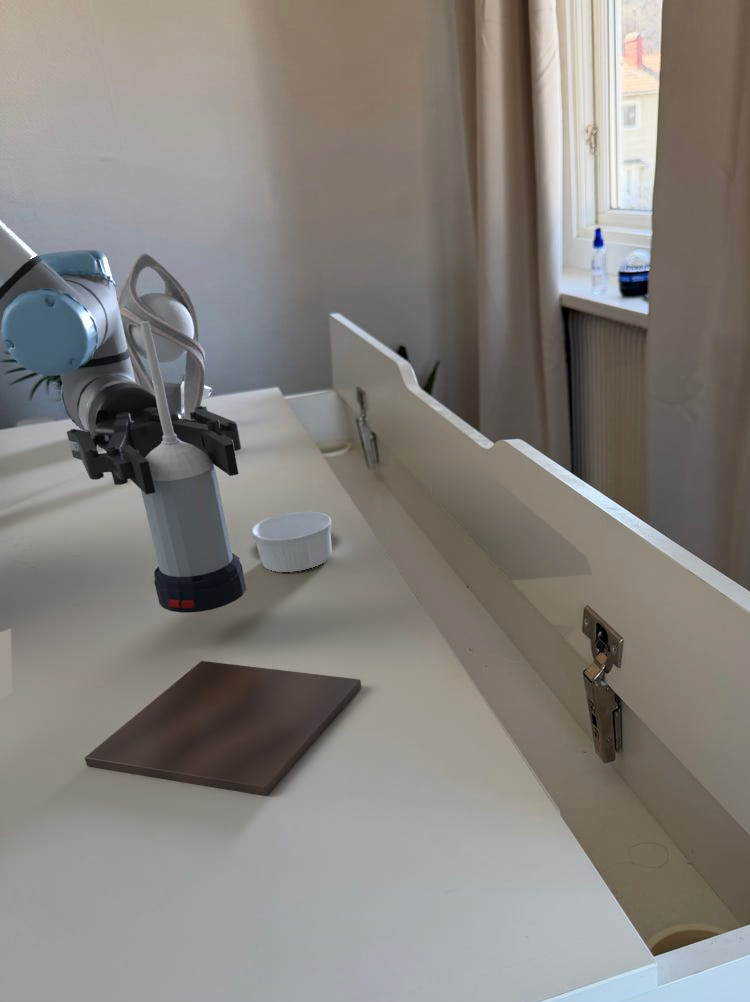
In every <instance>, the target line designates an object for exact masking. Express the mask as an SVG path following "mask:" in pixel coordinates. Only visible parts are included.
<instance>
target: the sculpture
mask: <svg viewBox="0 0 750 1002" xmlns="http://www.w3.org/2000/svg"><path fill="white" fill-rule="evenodd" d="M146 268H151V269H152V270H154V271H155V272H156V273H157V274H158V276H159V277H160V278H161V280H162V281H163V283H164V288H163V292H149V293H145V294H142V295H140V296H139V295H138V292H137V283H138V279H139V276H140V274H141V272H142V271H143V270H144V269H146ZM117 301H118V305H119V310H120V315H121V320H122V324H123V329H124V334H125V339H126V343H127V348H128V351H129V356H130V359H131V364H132V368H133V373H134V377H135V382H136V383H137V384H139V385H141V386H142V387H143V388H145V389H147V390H148V391H150V392H151V393H153V394H154V395H155V391H154V385H153V382H152V377H150V375H149V373H148V371H147V369H146V368H145V365H144V363H143V361H142V359H141V357H142V358H144V359H145V360H147V361H148V358H147V353H146V348H145V343H144V339H143V334H142V329H141V324H140V322H146V321H148V322H149V324H150V329H151V333H152V338H153V342H154V346H155V351H156V355H157V359H158V364H165V363H171V362H174V361H177V360H178V359H180V358H182V357H183V356H184V355H185V354H186V355H185V364H184V375H183V376H184V417H186V416H190V411H194V408H196V407H198V406H202V402H203V399H202V397H203V392H204V385H205V384H206V370H205V366H206V352H205V350H204V348H203V346H202V345H201V344H200V336H199V335H200V331H199V320H198V315H197V311H196V307H195V305H194V302H193V300H192V299H191V296H190V294H189V293H188V292H187V290H186V289H185V288H184V286H183V285H182V284H181V283H180V282H179V281H178V279H176V278H175V276H173V274H172V273H170V272H169V271H168V270H167V269H166V268H165V267H164V266H163V264H161V263H160V262H159V261H158V260H156V259H155V258H154V257H153V256H152V255H150V254H147V253H141V254H139V255H138V256H137V258H136V259H135V260H134V262H133V264H132V265H131V267H130V269H129V271H128V272H127V275H126V277H125V279H124V281H123V283H122V285H121V288H120V290H119V294H118V297H117ZM205 386H206V385H205Z"/></svg>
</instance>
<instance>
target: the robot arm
mask: <svg viewBox="0 0 750 1002" xmlns="http://www.w3.org/2000/svg"><path fill="white" fill-rule="evenodd" d="M116 287H117V284H116V281H115V279H114V278H113V275H112V272H111V268H110V263H109V260H108V258H107V256H106V255H105V254H104V253H103V252H102V251H100V250H96V249H78V250H67V251H57V252H50V253H45V254H40V255H38V253H37V252H36V251H34V250H33V249H32V248H31V247H30V246H29V245H28V244H27V243H26V242H25V241H24V240H23V239H22V238H21V237H20V236H19V235H18V234H17V233H15V231H14V230H13V229H11V228H10V226H8V225H7V224H6V223H5V222H4V221H3V220H2V219H1V218H0V332H1V337H2V340H3V343H4V346H5V348H6V349H7V351H8V352H9V354H10V355H11V357H12V358H13V359H14V360H15V361H16V362H17V363H18V364H19V365H20V366H22V367H23V368H24V369H26V370H28V371H30V372H32V373H35V374H38V375H42V376H49V377H50V376H51V377H54V376H60V380H61V387H60V399H61V403H62V406H63V409H64V411H65V414H66V415H67V417H69V419H70V420H71V422H72V423H74V424H75V426H76V427H78V429H77V428H71V429H69V430H67V431H66V435H67V439H68V443H69V447H70V450H71V454H72V458H74V459H77V460H79V461H81V462H82V464H83V466H84V468H85V471H86V473H87V475H88V477H89V479H90V480H93V481H97V480H100V479H102V478H104V477H105V474H104V473H111V476H112V480H113V484H114V485H115V486H122V485H126V484H127V483H129V480H130V481H131V482H132V483H133V484H135V486H137V487H138V488H139V490H140V491H141V490H142V491H143V492H144V493H145V494H146V495H147V494H151V493H155V489H154V484H153V480H152V475H151V471H150V466H149V462H148V461H147V460H146V459H145V457H146V456H147V455H148V454H149V453H150V452H151V451H152V450H153V449H155V448H156V447H158V446H159V445H160V444H161V442H162V441H163V438H162V436H163V435H164V434H163V430H162V426H161V421H160V417H159V412H158V408H157V402H156V397H155V395H154V394H153V393H151V392H150V391H148V390H147V389H145V388H143V387H142V386H141V385H139V384H137V383H136V382H135V377H134V373H133V368H132V364H131V359H130V356H129V351H128V348H127V343H126V339H125V334H124V329H123V324H122V320H121V315H120V310H119V305H118V297H117V292H116ZM169 414H170V418H171V422H172V426H173V430H174V433H175V434H176V435H177V439H180V441H182V442H185V443H188V444H192V445H193V446H195V447H197V448H199V449H200V450H202V451H203V452H204V453H206V454H207V455H208V456H209V457H210V459H211V460H212V461H213V464H214V467H216V468H218V469H220V470H221V471H222V472H223V473H225V474H227V475H228V476H229V477H233V476H237V475H239V469H238V464H237V458H236V452H238V451H240V450H241V449H242V444H241V438H240V434H239V433H240V432H239V428H238V423H237V422H236V421H234V420H231V419H229V418H227V417H224V416H221V415H218V414H217V413H214V412H211V411H209V410H208V408H207V406H203V405H201V406H198V407H196V408H194V411H190V416H186V417H181V416H180V414H179V413H177V412H173V411H169ZM98 448H100V449H103V450H104V451H105V452H102V453H101V452H100V453H99V451H98V450H99V449H98Z"/></svg>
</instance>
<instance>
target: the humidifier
mask: <svg viewBox="0 0 750 1002" xmlns="http://www.w3.org/2000/svg"><path fill="white" fill-rule="evenodd" d="M140 324H141V329H142V334H143V339H144V343H145V348H146V353H147V358H148V360H147V363H148V367H149V372H150V376H151V380H152V381H153V385H154V391H155V397H156V402H157V408H158V412H159V417H160V421H161V426H162V430H163V434H164V435H163V436H162V438H163V441H162V442H161V444H160V445H159V446H158V447H156V448H155V449H153V450H152V451H151V452H150V453H149V454H148V455H147V456H146V457H145V459H146V460H147V461H148V462H149V466H150V471H151V475H152V480H153V484H154V489H155V493H151V494H147V495H146V494H145V493H144V492H143V491H142V490H141V489H140V491H141V496H142V500H143V504H144V505H143V506H144V509H145V514H146V518H147V522H148V527H149V530H150V536H151V539H152V543H153V548H154V553H155V557H156V561H157V564H158V565H157V568H156V569H154V572H153V577H154V587H155V592H156V596H157V599H158V604H159V606H161V607H162V608H163V609H164V610H167V611H170V612H174V613H181V614H184V613H185V614H186V613H187V614H188V613H199V612H207V611H212V610H215V609H218V608H222V607H225V606H227V605H230V604H232V603H233V602H236V601H237V600H238V599H240V598H241V597H243V596H244V594H245V593H246V591H247V585H246V581H245V575H244V569H243V564H242V563H241V560H240V557H239V556H238V555H237V554H235V553H233V552H232V546H231V542H230V536H229V531H228V526H227V521H226V516H225V510H224V505H223V500H222V495H221V490H220V486H219V485H220V484H219V480H218V475H217V470H216V468H215V465H214V464H213V461H212V460H211V459H210V457H209V456H208V455H207V454H206V453H204V452H203V451H202V450H200V449H199V448H197V447H195V446H193V445H192V444H188V443H185V442H182V441H180V439H177V435H176V434H175V433H174V430H173V426H172V422H171V418H170V414H169V409H168V405H167V400H166V394H165V389H164V384H163V381H164V380H163V377H162V372H161V368H160V363H158V359H157V355H156V351H155V346H154V342H153V338H152V333H151V329H150V324H149V322H148V321H146V322H140Z"/></svg>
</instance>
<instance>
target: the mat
mask: <svg viewBox="0 0 750 1002" xmlns="http://www.w3.org/2000/svg"><path fill="white" fill-rule="evenodd" d="M361 689H362V680H361V678H351V677H345V676H343V677H342V676H334V675H327V674H317V673H309V672H300V671H291V670H283V669H274V668H265V667H258V666H248V665H242V664H241V665H240V664H232V663H223V662H216V661H206V660H200V661H199V662H198V663H197V664H196V665H195V666H193V667H192V668H191V669H190V670H189V671H187V672H186V673H185V674H184V675H182V676H181V677H180V678H179V679H178V680H176V681H175V682H174V683H173V684H171V686H169V687H168V688H166V690H164V691H163V692H162V693H160V694H159V695H158V696H157V697H156V698H155V699H154V700H152V701H151V702H150V703H148V705H146V706H145V707H144V708H142V710H140V711H139V712H138V713H137V714H135V715H134V716H133V717H132V718H130V719H129V720H128V721H127V722H125V723H124V724H123V725H122V726H121V727H120V728H118V729H117V730H116V731H115V732H114V733H113V734H111V735H110V736H108V738H106V739H105V740H104V741H103V742H102V743H100V744H99V745H98V746H97V747H95V749H93V750H92V751H90V752H89V753H88V754H87V755H86V756H84V761H85V765H86V766H87V767H92V768H97V769H102V770H103V769H104V770H110V771H115V772H121V773H128V774H132V775H133V774H135V775H139V776H145V777H152V778H159V779H164V780H169V781H175V782H176V781H177V782H183V783H188V784H195V785H201V786H206V787H213V788H217V789H225V790H230V791H237V792H244V793H249V794H255V795H259V796H260V795H261V796H268V795H269V794H270V793H271V791H272V790H273V789H274V788H275V787H276V786H277V785H278V784H279V782H280V781H281V780H282V779H283V778H284V777H285V776H286V774H287V773H288V772H289V771H290V770H291V769H292V767H294V765H295V764H297V762H298V761H299V760H300V758H302V757H303V755H304V754H305V752H307V751H308V749H309V748H311V746H312V745H313V744H314V742H316V740H317V739H318V738H319V737H320V736H321V735H322V733H323V732H325V730H326V728H328V727H329V725H330V724H331V723H332V722H333V721H334V720H335V719H336V717H337V716H338V715H339V714H340V713H341V711H342V710H344V708H345V707H346V706H347V705H348V704H349V702H350V701H351V700H352V699H353V698H354V696H356V694H357V693H358V692H359V691H360V690H361Z"/></svg>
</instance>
